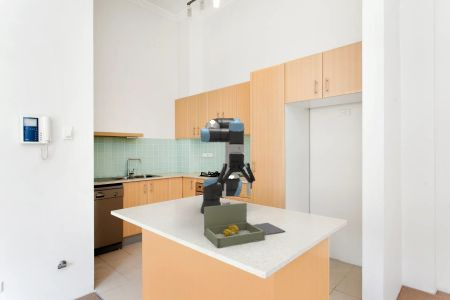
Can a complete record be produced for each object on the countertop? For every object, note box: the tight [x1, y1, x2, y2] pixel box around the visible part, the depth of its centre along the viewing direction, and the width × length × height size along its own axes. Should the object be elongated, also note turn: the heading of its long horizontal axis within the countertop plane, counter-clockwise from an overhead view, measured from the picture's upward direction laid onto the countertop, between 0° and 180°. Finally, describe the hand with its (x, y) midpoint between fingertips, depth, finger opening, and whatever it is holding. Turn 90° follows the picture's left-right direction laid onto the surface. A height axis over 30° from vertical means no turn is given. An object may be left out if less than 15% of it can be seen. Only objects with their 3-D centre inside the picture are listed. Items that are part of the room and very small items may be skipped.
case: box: [203, 201, 266, 249], centre depth 120 cm, size 18×24×15 cm
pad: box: [253, 222, 286, 236], centre depth 132 cm, size 16×12×1 cm
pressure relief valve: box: [222, 225, 240, 237], centre depth 118 cm, size 6×12×10 cm
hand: (236, 196), depth 120 cm, fingers open, 13 cm apart
